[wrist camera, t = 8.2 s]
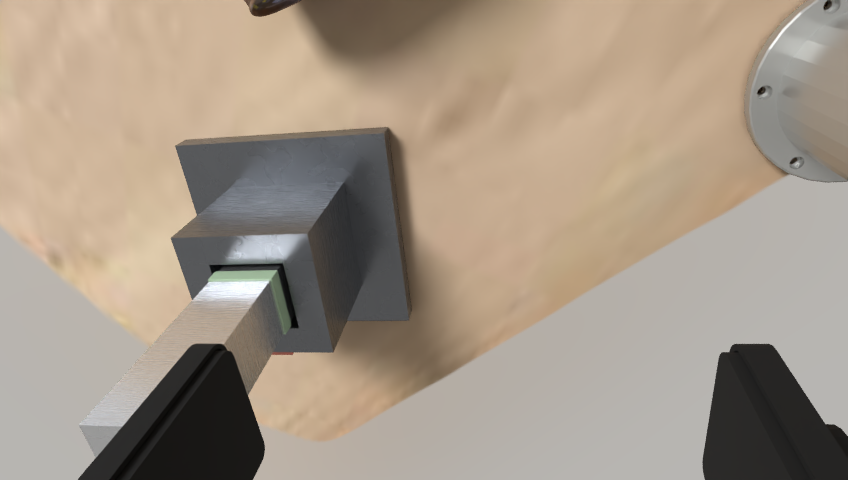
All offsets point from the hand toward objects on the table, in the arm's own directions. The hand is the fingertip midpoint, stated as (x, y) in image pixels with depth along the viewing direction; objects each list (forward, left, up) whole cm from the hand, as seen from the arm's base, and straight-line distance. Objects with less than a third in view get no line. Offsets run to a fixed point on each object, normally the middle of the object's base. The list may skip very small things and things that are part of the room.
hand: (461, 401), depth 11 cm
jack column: (+16, +10, -23) cm, 30 cm away
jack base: (+16, +10, -30) cm, 35 cm away
